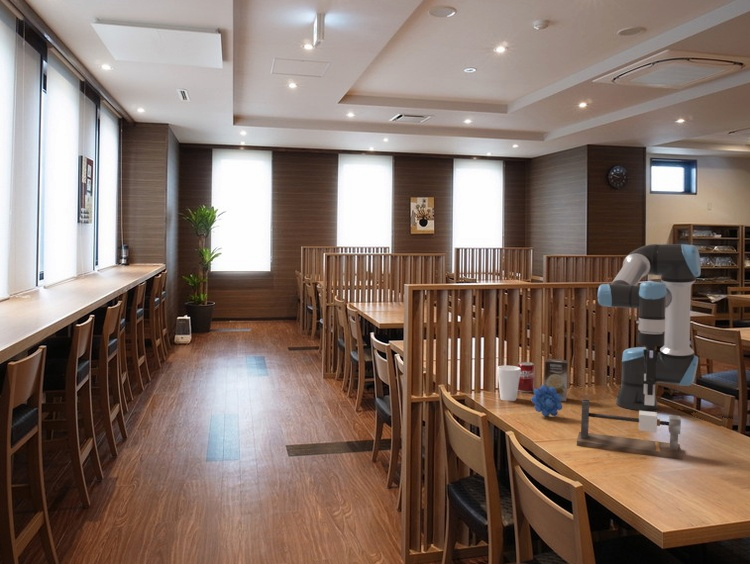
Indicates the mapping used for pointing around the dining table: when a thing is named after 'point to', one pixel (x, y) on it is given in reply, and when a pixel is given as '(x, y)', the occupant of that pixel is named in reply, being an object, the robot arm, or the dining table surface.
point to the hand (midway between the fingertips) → (648, 399)
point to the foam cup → (508, 382)
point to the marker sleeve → (648, 421)
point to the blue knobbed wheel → (547, 400)
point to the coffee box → (556, 376)
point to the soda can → (526, 377)
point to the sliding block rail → (629, 443)
